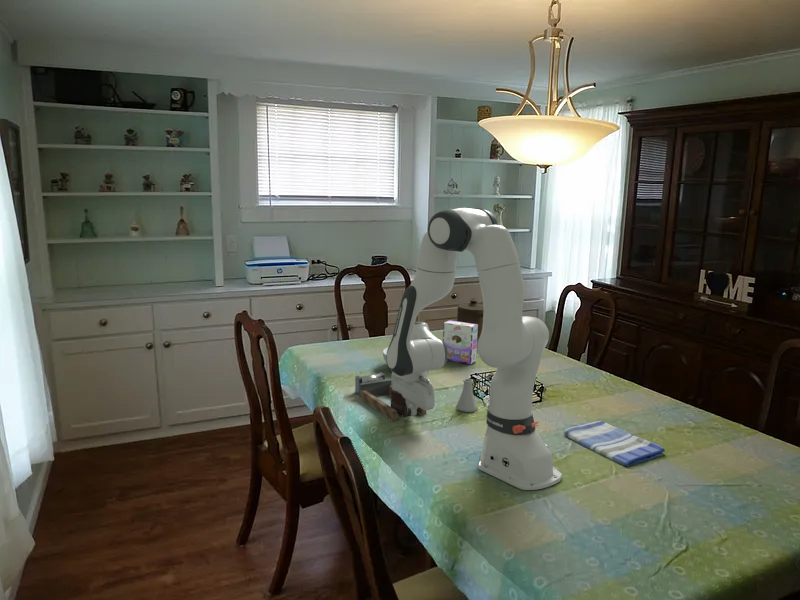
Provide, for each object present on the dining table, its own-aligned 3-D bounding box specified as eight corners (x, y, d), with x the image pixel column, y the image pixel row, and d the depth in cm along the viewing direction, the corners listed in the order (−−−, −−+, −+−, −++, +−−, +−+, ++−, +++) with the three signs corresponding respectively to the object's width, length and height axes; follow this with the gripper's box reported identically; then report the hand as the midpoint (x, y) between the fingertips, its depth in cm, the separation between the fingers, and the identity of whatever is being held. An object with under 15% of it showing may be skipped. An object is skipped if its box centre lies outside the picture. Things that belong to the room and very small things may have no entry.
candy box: (476, 361, 246) (478, 324, 243) (470, 365, 241) (472, 326, 238) (447, 356, 253) (449, 319, 250) (441, 359, 249) (443, 321, 246)
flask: (476, 413, 189) (478, 384, 187) (454, 411, 190) (456, 382, 188) (478, 405, 196) (479, 377, 194) (456, 403, 197) (458, 375, 195)
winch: (385, 390, 208) (385, 374, 207) (359, 395, 202) (359, 379, 201) (380, 387, 211) (380, 371, 210) (354, 392, 206) (354, 375, 205)
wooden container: (493, 344, 276) (495, 298, 272) (474, 349, 265) (477, 302, 261) (468, 338, 286) (470, 294, 282) (449, 343, 275) (451, 297, 271)
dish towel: (601, 426, 183) (602, 417, 182) (667, 456, 163) (668, 447, 162) (560, 436, 174) (561, 427, 174) (625, 469, 154) (626, 459, 154)
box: (403, 417, 184) (403, 395, 183) (389, 412, 188) (390, 390, 187) (416, 412, 188) (416, 390, 187) (402, 407, 192) (403, 386, 191)
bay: (426, 414, 187) (426, 399, 186) (393, 421, 181) (393, 406, 180) (390, 391, 207) (390, 378, 206) (358, 397, 201) (359, 383, 200)
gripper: (440, 380, 173) (438, 423, 176) (404, 362, 190) (403, 402, 193) (423, 383, 170) (421, 427, 172) (388, 364, 187) (387, 405, 190)
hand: (411, 413), depth 183 cm, fingers closed
